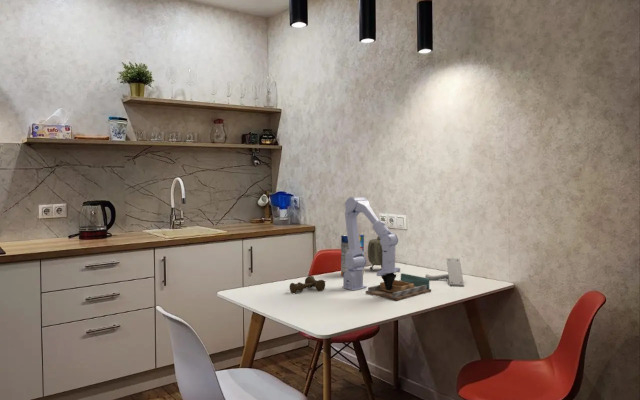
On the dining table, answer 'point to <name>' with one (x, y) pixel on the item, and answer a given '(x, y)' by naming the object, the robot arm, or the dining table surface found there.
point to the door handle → (451, 273)
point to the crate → (397, 286)
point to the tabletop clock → (375, 252)
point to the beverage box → (346, 248)
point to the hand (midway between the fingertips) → (388, 289)
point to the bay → (419, 288)
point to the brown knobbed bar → (308, 285)
